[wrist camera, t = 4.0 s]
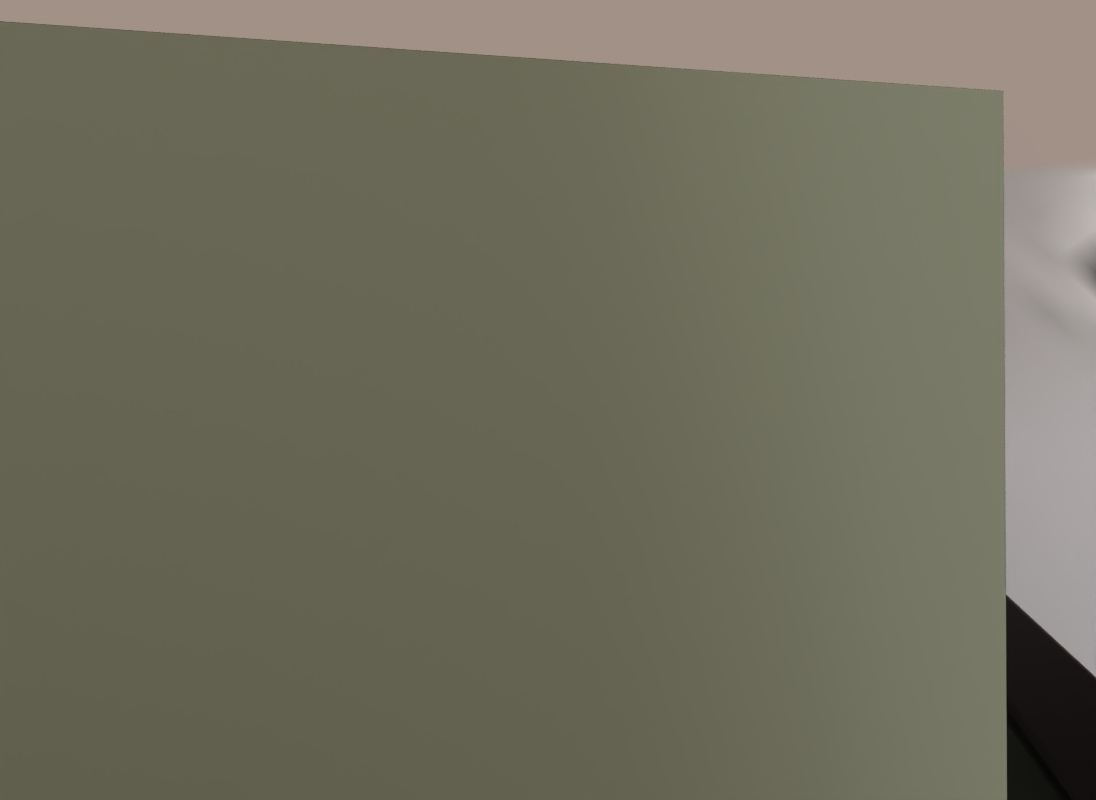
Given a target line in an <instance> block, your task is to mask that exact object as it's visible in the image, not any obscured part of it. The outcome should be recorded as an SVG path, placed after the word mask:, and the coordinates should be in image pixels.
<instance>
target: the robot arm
mask: <svg viewBox="0 0 1096 800" xmlns="http://www.w3.org/2000/svg"><path fill="white" fill-rule="evenodd" d="M1006 710H1007V800H1096V677H1095V676H1094V675H1093V674H1092V673H1091V672H1090V671H1089V670H1087V669H1086V668H1085V667H1084V666H1083V665H1082V664H1081V663H1080V662H1079V661H1078V660H1077V659H1076V658H1074V657H1073V656H1072V655H1071V654H1070V653H1069V652H1068V651H1067V650H1066V649H1065V648H1064V647H1062V646H1061V645H1060V644H1059V643H1058V642H1057V641H1056V640H1055V639H1054V638H1053V637H1052V636H1051V635H1049V634H1048V633H1047V632H1046V631H1045V630H1044V629H1043V628H1042V627H1041V626H1040V625H1039V624H1038V623H1036V622H1035V621H1034V620H1033V619H1032V618H1031V617H1030V616H1029V615H1028V614H1027V613H1026V612H1025V611H1023V610H1022V609H1021V608H1020V607H1019V606H1018V605H1017V604H1016V603H1015V602H1014V601H1013V600H1011V599H1010V598H1009V597H1008V596H1007V595H1006Z"/></svg>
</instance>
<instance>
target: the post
mask: <svg viewBox="0 0 1096 800" xmlns="http://www.w3.org/2000/svg"><path fill="white" fill-rule="evenodd" d="M1003 153H1004V151H1003V91H996V90H982V89H967V88H952V87H939V86H924V85H910V84H894V83H881V82H867V81H851V80H838V79H837V80H836V79H823V78H809V77H795V76H780V75H765V74H751V73H736V72H723V71H708V70H693V69H679V68H665V67H651V66H636V65H635V66H634V65H622V64H621V65H620V64H606V63H593V62H579V61H563V60H550V59H535V58H521V57H506V56H492V55H477V54H463V53H448V52H434V51H420V50H419V51H418V50H405V49H391V48H377V47H361V46H348V45H334V44H319V43H303V42H291V41H275V40H262V39H246V38H232V37H218V36H204V35H190V34H174V33H161V32H146V31H131V30H117V29H103V28H88V27H74V26H59V25H46V24H31V23H16V22H2V21H0V800H1007V710H1006V524H1005V337H1004V155H1003Z"/></svg>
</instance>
